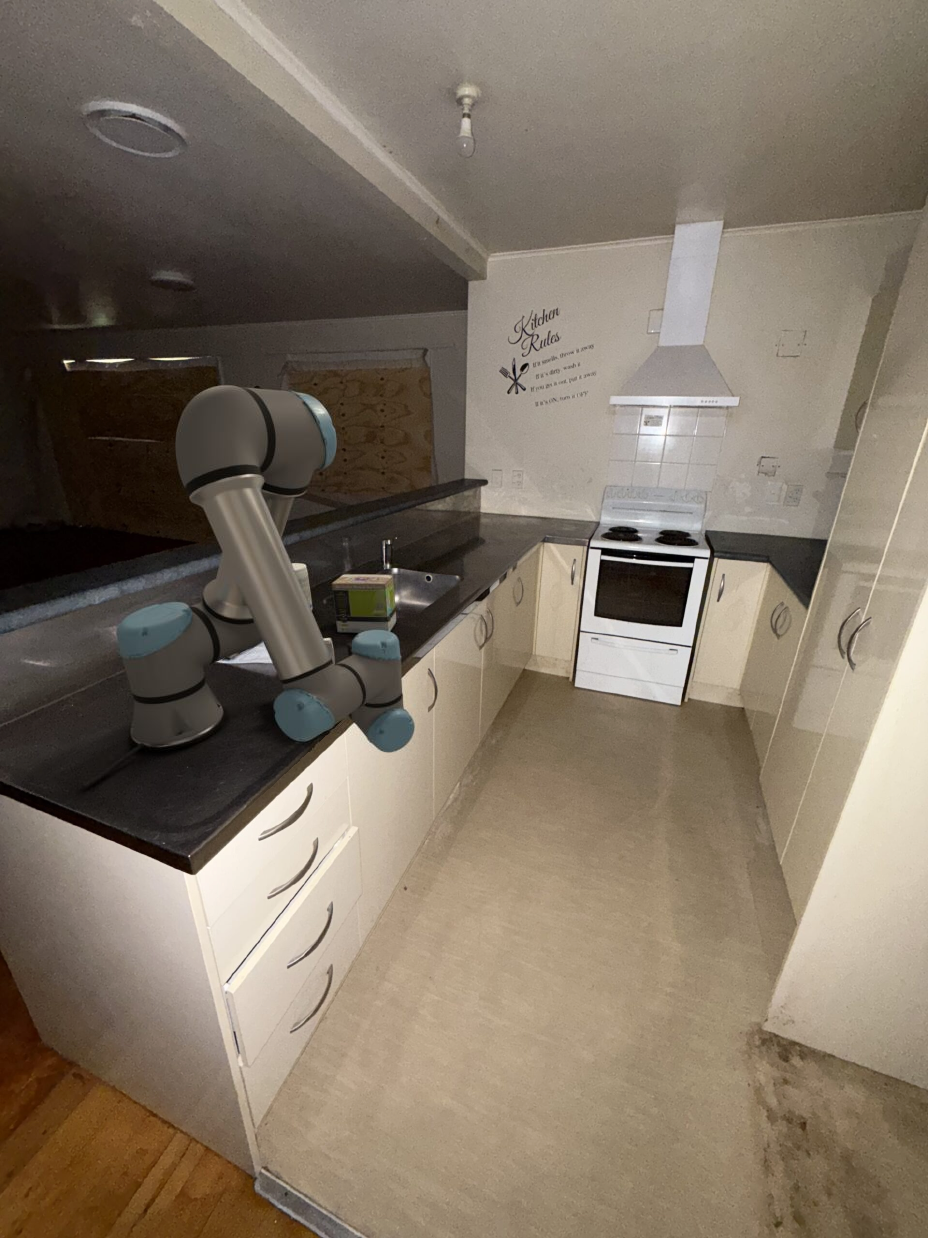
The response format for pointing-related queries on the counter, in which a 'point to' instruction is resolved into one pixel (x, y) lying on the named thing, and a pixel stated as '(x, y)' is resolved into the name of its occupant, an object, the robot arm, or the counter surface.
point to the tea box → (364, 602)
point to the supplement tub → (303, 580)
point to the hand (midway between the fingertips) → (319, 656)
